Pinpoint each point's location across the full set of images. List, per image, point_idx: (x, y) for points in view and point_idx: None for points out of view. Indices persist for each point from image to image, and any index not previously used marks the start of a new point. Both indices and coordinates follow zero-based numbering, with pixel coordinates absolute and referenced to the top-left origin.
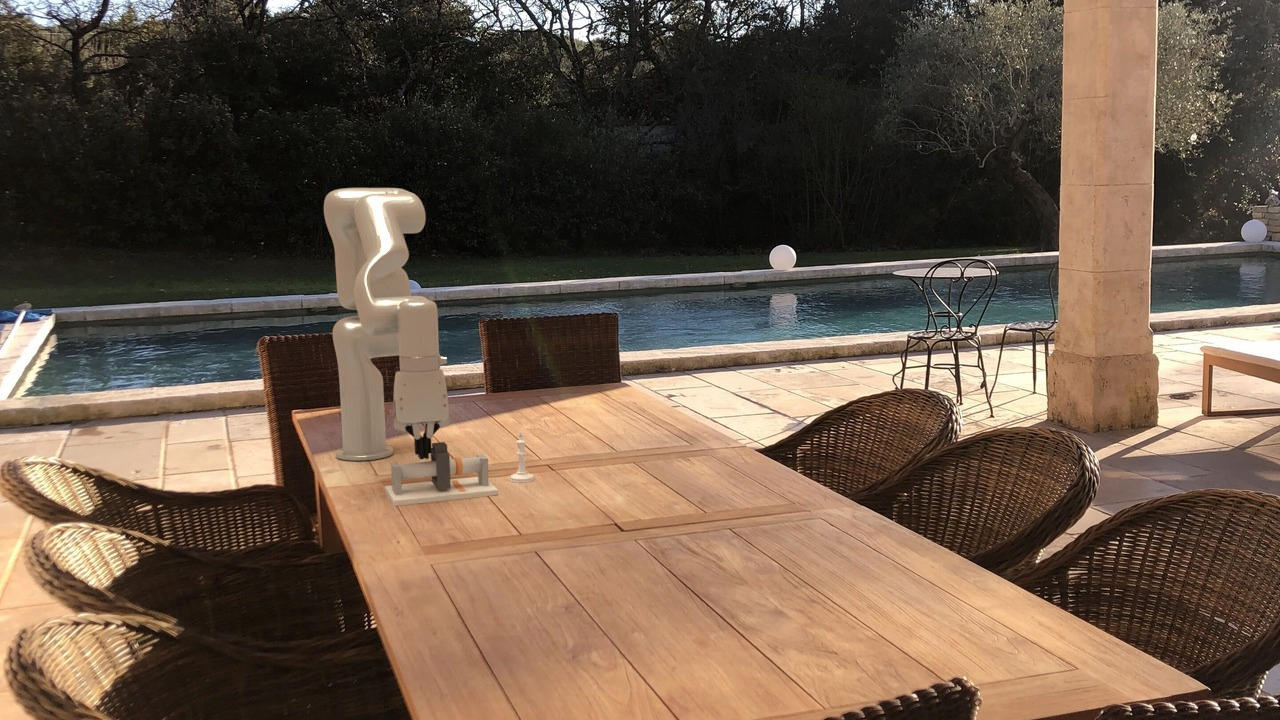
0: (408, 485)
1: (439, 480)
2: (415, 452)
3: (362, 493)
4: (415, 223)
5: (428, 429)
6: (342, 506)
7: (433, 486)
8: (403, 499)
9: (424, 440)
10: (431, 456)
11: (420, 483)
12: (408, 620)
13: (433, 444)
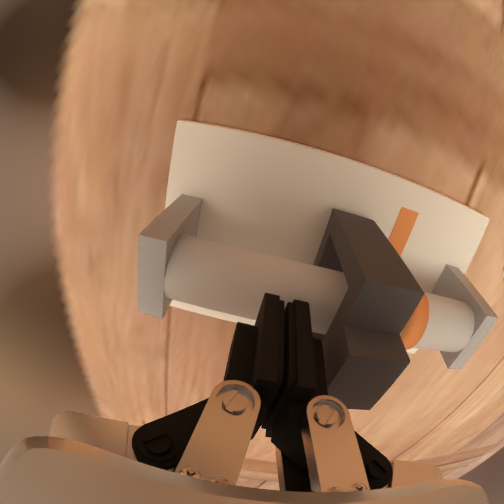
0: (254, 163)
1: None
2: (233, 338)
3: (117, 112)
4: None
5: (285, 483)
6: (60, 220)
7: (321, 232)
8: (183, 306)
9: (262, 426)
10: (346, 277)
11: (305, 163)
12: None
13: (332, 382)
